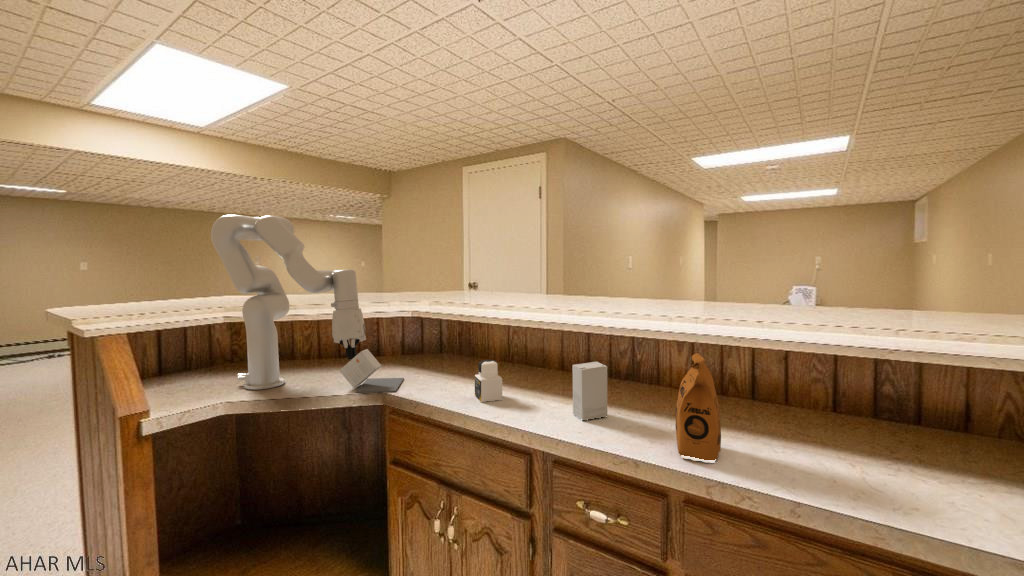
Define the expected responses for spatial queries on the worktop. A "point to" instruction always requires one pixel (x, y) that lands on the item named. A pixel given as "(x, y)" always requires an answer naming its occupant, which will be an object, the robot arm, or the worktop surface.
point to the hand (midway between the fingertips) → (351, 358)
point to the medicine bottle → (488, 382)
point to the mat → (380, 385)
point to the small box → (360, 368)
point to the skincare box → (590, 390)
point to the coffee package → (698, 414)
